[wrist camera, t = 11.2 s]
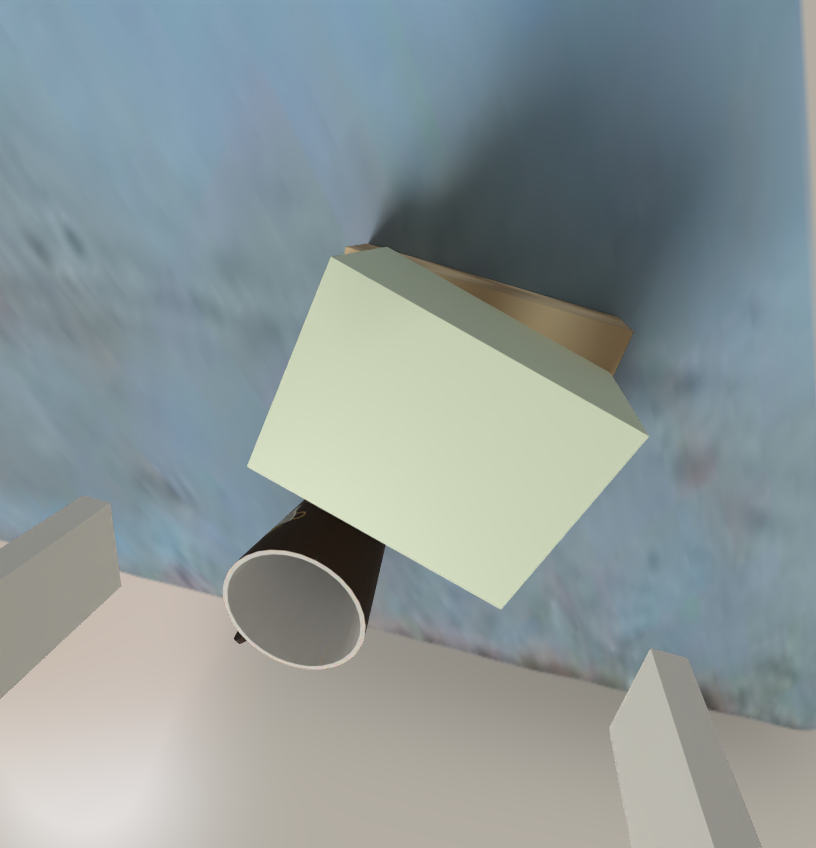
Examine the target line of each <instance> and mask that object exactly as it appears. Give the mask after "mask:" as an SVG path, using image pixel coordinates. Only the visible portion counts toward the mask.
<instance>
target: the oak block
mask: <svg viewBox="0 0 816 848" xmlns="http://www.w3.org/2000/svg"><path fill="white" fill-rule="evenodd" d="M377 248H381V247H377V246H374V245H371V244H362V245H355V246H348V247H346V248H345V254H349V253H354V252H360V251H366V250H371V249H377ZM397 253H398V252H397ZM399 254H401V253H399ZM401 255H403V256H404V257H406V258H408V259H410V260H411V261H413V262H415V263H417V264H419V265H420V266H422V267H424V268H426V269H427V270H429V271H431V272H433V273H435V274H436V275H438V276H440V277H442V278H443V279H445V280H447V281H449V282H450V283H452V284H454V285H456V286H458V287H459V288H461V289H463V290H465V291H466V292H468V293H470V294H472V295H473V296H475V297H477V298H479V299H481V300H482V301H484V302H486V303H488V304H489V305H491V306H493V307H495V308H496V309H498V310H500V311H502V312H504V313H505V314H507V315H509V316H511V317H512V318H514V319H516V320H518V321H520V322H521V323H523V324H525V325H527V326H528V327H530V328H532V329H534V330H535V331H537V332H539V333H541V334H543V335H544V336H546V337H548V338H550V339H551V340H553V341H555V342H557V343H558V344H560V345H562V346H564V347H566V348H567V349H569V350H571V351H573V352H574V353H576V354H578V355H580V356H581V357H583V358H585V359H587V360H589V361H590V362H592V363H594V364H596V365H597V366H599V367H601V368H603V369H605V370H606V371H608V372H610V373H611V374H612V376H614V373H615V371H616V369H617V367H618V365H619V363H620V361H621V358H622V356H623V354H624V352H625V350H626V348H627V346H628V343H629V341H630V339H631V337H632V335H633V333H634V331H632V330H631V329H630V328H629V327H628V326H627V325H626V324H625V323H624V322H623V321H622V320H621V319H620V318H619V317H616V316H612V315H609V314H606V313H602V312H599V311H595V310H592V309H589V308H585V307H582V306H578V305H575V304H572V303H568V302H565V301H561V300H558V299H555V298H551V297H548V296H544V295H541V294H538V293H534V292H531V291H527V290H524V289H520V288H517V287H514V286H510V285H507V284H503V283H500V282H497V281H493V280H490V279H486V278H483V277H480V276H476V275H473V274H469V273H466V272H463V271H459V270H456V269H452V268H449V267H446V266H442V265H439V264H435V263H432V262H428V261H425V260H422V259H418V258H415V257H411V256H408V255H405V254H401Z"/></svg>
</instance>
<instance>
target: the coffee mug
mask: <svg viewBox="0 0 816 848" xmlns="http://www.w3.org/2000/svg"><path fill="white" fill-rule="evenodd" d="M384 549H385V544H384V543H382V542H380V541H378V540H376V539H375V538H373V537H371V536H369V535H368V534H366V533H364V532H362V531H360V530H359V529H357V528H355V527H353V526H352V525H350V524H348V523H346V522H344V521H343V520H341V519H339V518H337V517H336V516H334V515H332V514H330V513H328V512H327V511H325V510H323V509H321V508H320V507H318V506H316V505H314V504H312V503H311V502H309V501H307V500H304V501H303V502H301V503H300V504H299V505H298V506H297V507H296V508H295V509H294V510H293V511H292V512H290V513H289V514H288V515H287V516H286V517H285V518H284V519H283V520H282V521H281V522H279V523H278V524H277V525H276V526H275V527H274V528H273V529H272V530H271V531H270V532H269V533H267V534H266V535H265V536H264V537H263V538H262V539H261V540H260V541H259V542H258V543H256V544H255V545H254V546H253V547H252V548H251V549H250V550H249V551H248V552H247V553H245V554H244V555H243V556H242V557H241V558H240V559H239V560H238V561H237V562H236V563H235V564H234V565H233V566H232V567H231V568H230V569H229V571H228V573H227V576H226V578H225V581H224V586H223V600H224V604H225V607H226V611H227V613H228V615H229V617H230V619H231V621H232V623H233V624H234V626H235V627H236V629H237V630H238V632H237V633H236V635H235V637H234V639H235V641H237V642H238V643H239V644H241V643H243V642H245V641H248V642H249V643H250V644H251V645H252V646H254V647H255V648H256V649H257V650H259V651H260V652H262V653H263V654H265V655H267V656H268V657H270V658H272V659H274V660H276V661H278V662H281V663H283V664H286V665H289V666H293V667H296V668H302V669H310V670H318V669H328V668H332V667H336V666H339V665H341V664H343V663H345V662H347V661H348V660H349V659H351V658H352V657H353V656H354V655H355V654H356V653H357V652H358V650H359V649H360V648H361V645H362V643H363V640H364V637H365V633H366V629H367V624H368V620H369V615H370V611H371V607H372V602H373V598H374V593H375V589H376V585H377V580H378V576H379V571H380V567H381V563H382V558H383V554H384Z"/></svg>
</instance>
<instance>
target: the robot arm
mask: <svg viewBox="0 0 816 848" xmlns="http://www.w3.org/2000/svg"><path fill="white" fill-rule="evenodd" d="M119 587H121V582H120V574H119V566H118V559H117V551H116V543H115V535H114V528H113V520H112V512H111V505H110V503H109V502H105V501H102V500H98V499H94V498H91V497H87V496H81V497H80V498H78V499H77V500H75V501H74V502H72V503H71V504H69V505H67V506H66V507H64V508H63V509H61V510H60V511H58V512H57V513H55V514H53V515H52V516H50V517H49V518H47V519H46V520H44V521H43V522H41V523H39V524H38V525H36V526H35V527H33V528H32V529H30V530H29V531H27V532H25V533H24V534H22V535H21V536H19V537H18V538H16V539H15V540H13V541H11V542H10V543H8V544H7V545H5V546H4V547H2V548H0V699H1V698H2V697H3V696H4V695H5V694H6V693H7V692H8V691H9V690H10V689H11V688H12V687H13V686H15V685H16V684H17V683H18V682H19V681H20V680H21V679H22V678H23V677H24V676H25V675H26V674H27V673H29V671H31V670H32V669H33V668H34V667H35V666H36V665H37V664H38V663H39V662H40V661H41V660H42V659H43V658H45V656H47V655H48V654H49V653H50V652H51V651H52V650H53V649H54V648H55V647H56V646H57V645H58V644H59V643H60V642H62V641H63V640H64V639H65V638H66V637H67V636H68V635H69V634H70V633H71V632H72V631H73V630H75V629H76V627H78V626H79V625H80V624H81V623H82V622H83V621H84V620H85V619H86V618H87V617H88V616H89V615H91V614H92V613H93V612H94V611H95V610H96V609H97V608H98V607H99V606H100V605H101V604H102V603H103V602H104V601H106V600H107V599H108V598H109V597H110V596H111V595H112V594H113V593H114V592H115V591H116V590H117V589H118V588H119ZM609 731H610V736H611V742H612V747H613V753H614V758H615V763H616V769H617V774H618V779H619V784H620V790H621V795H622V801H623V805H624V812H625V817H626V822H627V828H628V833H629V838H630V843H631V848H762V846H761V844H760V841H759V839H758V836H757V834H756V831H755V828H754V826H753V823H752V821H751V818H750V816H749V813H748V811H747V808H746V806H745V803H744V801H743V798H742V796H741V793H740V791H739V788H738V785H737V783H736V780H735V778H734V775H733V773H732V770H731V768H730V765H729V763H728V760H727V758H726V755H725V752H724V750H723V747H722V745H721V742H720V740H719V737H718V735H717V732H716V730H715V727H714V725H713V722H712V719H711V717H710V714H709V712H708V709H707V707H706V704H705V702H704V699H703V697H702V694H701V692H700V689H699V687H698V684H697V681H696V679H695V676H694V674H693V671H692V669H691V666H690V664H689V661H688V659H687V658H685V657H681V656H678V655H674V654H670V653H667V652H663V651H659V650H655V649H652V648H650V650H649V652H648V654H647V656H646V658H645V660H644V662H643V664H642V666H641V668H640V670H639V672H638V673H637V675H636V677H635V679H634V681H633V683H632V685H631V687H630V689H629V691H628V693H627V695H626V697H625V698H624V700H623V702H622V704H621V706H620V708H619V710H618V712H617V714H616V716H615V718H614V720H613V721H612V723H611V726H610V727H609Z"/></svg>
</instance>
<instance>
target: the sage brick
mask: <svg viewBox="0 0 816 848" xmlns="http://www.w3.org/2000/svg"><path fill="white" fill-rule="evenodd" d="M648 437H649V435H648V434H647V432H646V430H645V429H644V427H643V425H642V424H641V422H640V420H639V419H638V417H637V416H636V414H635V412H634V411H633V409H632V407H631V406H630V404H629V402H628V401H627V399H626V397H625V396H624V394H623V393H622V391H621V389H620V388H619V386H618V384H617V383H616V381H615V379H614V378H613V376H612V374H611V373H610V372H608V371H606V370H605V369H603V368H601V367H599V366H597V365H596V364H594V363H592V362H590V361H589V360H587V359H585V358H583V357H581V356H580V355H578V354H576V353H574V352H573V351H571V350H569V349H567V348H566V347H564V346H562V345H560V344H558V343H557V342H555V341H553V340H551V339H550V338H548V337H546V336H544V335H543V334H541V333H539V332H537V331H535V330H534V329H532V328H530V327H528V326H527V325H525V324H523V323H521V322H520V321H518V320H516V319H514V318H512V317H511V316H509V315H507V314H505V313H504V312H502V311H500V310H498V309H496V308H495V307H493V306H491V305H489V304H488V303H486V302H484V301H482V300H481V299H479V298H477V297H475V296H473V295H472V294H470V293H468V292H466V291H465V290H463V289H461V288H459V287H458V286H456V285H454V284H452V283H450V282H449V281H447V280H445V279H443V278H442V277H440V276H438V275H436V274H435V273H433V272H431V271H429V270H427V269H426V268H424V267H422V266H420V265H419V264H417V263H415V262H413V261H411V260H410V259H408V258H406V257H404V256H403V255H401V254H399V253H397V252H396V251H394V250H392V249H390V248H388V247H383V248H377V249H371V250H366V251H360V252H354V253H349V254H343V255H337V256H332V257H331V258H330V260H329V263H328V265H327V268H326V270H325V273H324V275H323V278H322V280H321V283H320V285H319V288H318V290H317V293H316V295H315V298H314V300H313V303H312V305H311V308H310V310H309V313H308V315H307V318H306V320H305V323H304V325H303V328H302V330H301V333H300V335H299V338H298V340H297V343H296V345H295V348H294V350H293V353H292V355H291V358H290V360H289V363H288V365H287V368H286V370H285V373H284V375H283V378H282V380H281V383H280V385H279V388H278V390H277V393H276V395H275V398H274V400H273V403H272V405H271V408H270V410H269V413H268V415H267V418H266V420H265V423H264V425H263V428H262V430H261V433H260V435H259V438H258V440H257V443H256V445H255V448H254V450H253V453H252V455H251V458H250V460H249V463H248V465H247V467H248V468H250V469H252V470H254V471H256V472H257V473H259V474H261V475H263V476H264V477H266V478H268V479H270V480H272V481H273V482H275V483H277V484H279V485H280V486H282V487H284V488H286V489H288V490H289V491H291V492H293V493H295V494H296V495H298V496H300V497H302V498H304V499H305V500H307V501H309V502H311V503H312V504H314V505H316V506H318V507H320V508H321V509H323V510H325V511H327V512H328V513H330V514H332V515H334V516H336V517H337V518H339V519H341V520H343V521H344V522H346V523H348V524H350V525H352V526H353V527H355V528H357V529H359V530H360V531H362V532H364V533H366V534H368V535H369V536H371V537H373V538H375V539H376V540H378V541H380V542H382V543H384V544H385V545H387V546H389V547H391V548H392V549H394V550H396V551H398V552H400V553H401V554H403V555H405V556H407V557H408V558H410V559H412V560H414V561H416V562H417V563H419V564H421V565H423V566H424V567H426V568H428V569H430V570H432V571H433V572H435V573H437V574H439V575H440V576H442V577H444V578H446V579H448V580H449V581H451V582H453V583H455V584H456V585H458V586H460V587H462V588H464V589H465V590H467V591H469V592H471V593H472V594H474V595H476V596H478V597H480V598H481V599H483V600H485V601H487V602H488V603H490V604H492V605H494V606H496V607H497V608H499V609H502V608H503V606H504V605H505V604H506V603H507V602H508V601H509V599H510V598H511V597H512V596H513V595H514V594H515V592H516V591H517V590H518V589H519V588H520V587H521V585H522V584H523V583H524V582H525V581H526V580H527V578H528V577H529V576H530V575H531V574H532V573H533V571H534V570H535V569H536V568H537V567H538V566H539V564H540V563H541V562H542V561H543V560H544V559H545V557H546V556H547V555H548V554H549V553H550V552H551V550H552V549H553V548H554V547H555V546H556V545H557V543H558V542H559V541H560V540H561V539H562V538H563V536H564V535H565V534H566V533H567V532H568V530H569V529H570V528H571V527H572V526H573V525H574V523H575V522H576V521H577V520H578V519H579V518H580V516H581V515H582V514H583V513H584V512H585V511H586V509H587V508H588V507H589V506H590V505H591V504H592V502H593V501H594V500H595V499H596V498H597V497H598V495H599V494H600V493H601V492H602V491H603V490H604V488H605V487H606V486H607V485H608V484H609V483H610V481H611V480H612V479H613V478H614V477H615V476H616V474H617V473H618V472H619V471H620V470H621V469H622V467H623V466H624V465H625V464H626V463H627V462H628V460H629V459H630V458H631V457H632V456H633V454H634V453H635V452H636V451H637V450H638V449H639V447H640V446H641V445H642V444H643V443H644V442H645V440H646V439H647V438H648Z"/></svg>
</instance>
